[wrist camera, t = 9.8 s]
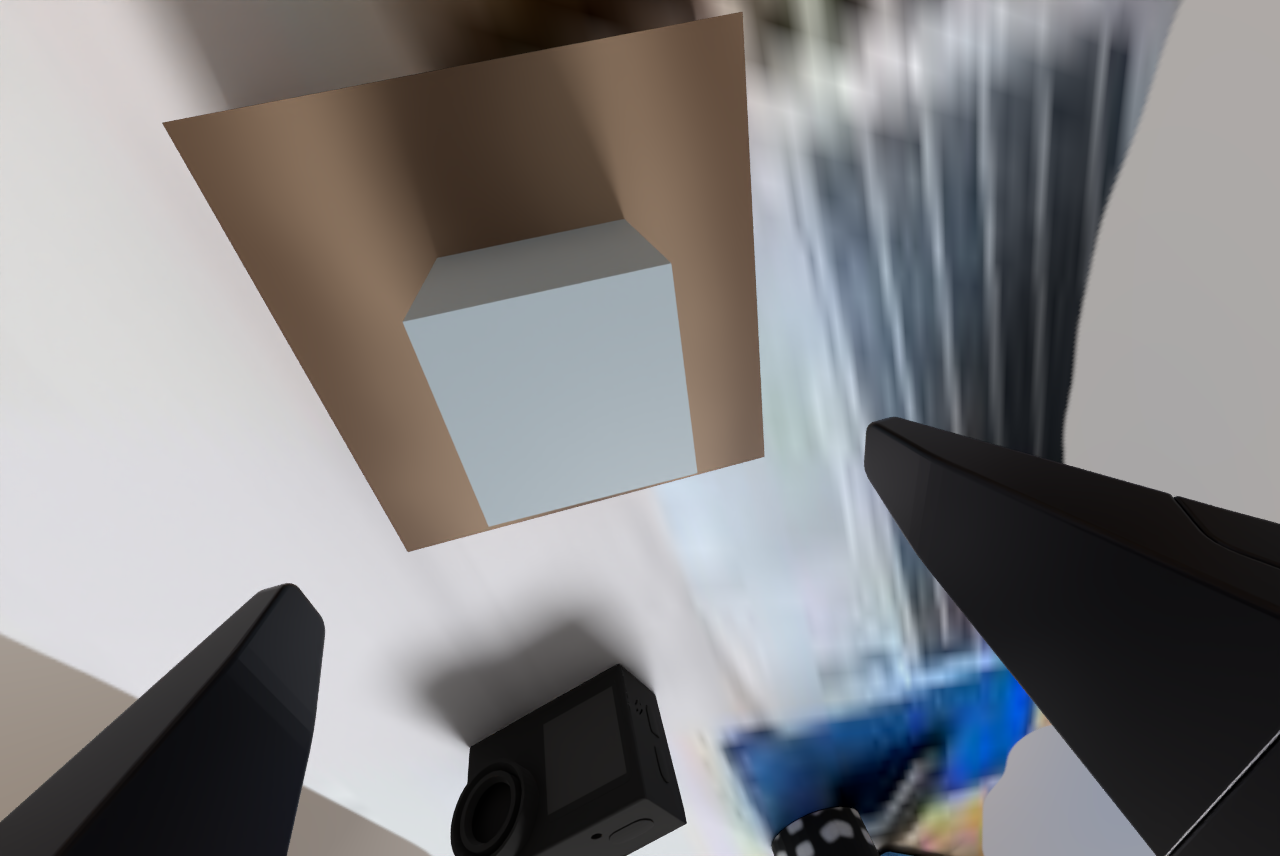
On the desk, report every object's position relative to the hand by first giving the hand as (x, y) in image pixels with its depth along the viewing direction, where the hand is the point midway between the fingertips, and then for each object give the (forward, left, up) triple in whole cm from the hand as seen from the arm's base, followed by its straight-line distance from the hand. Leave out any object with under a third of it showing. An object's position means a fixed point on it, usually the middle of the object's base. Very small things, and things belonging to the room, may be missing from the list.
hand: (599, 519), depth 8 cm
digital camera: (+6, +24, -12) cm, 27 cm away
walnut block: (0, 0, -12) cm, 13 cm away
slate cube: (0, 0, -8) cm, 9 cm away
